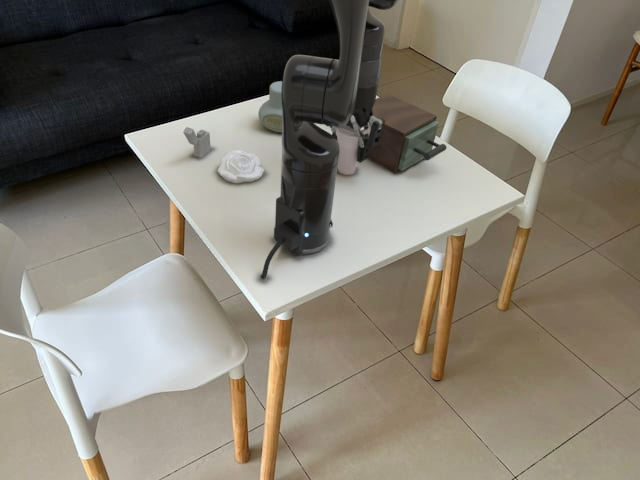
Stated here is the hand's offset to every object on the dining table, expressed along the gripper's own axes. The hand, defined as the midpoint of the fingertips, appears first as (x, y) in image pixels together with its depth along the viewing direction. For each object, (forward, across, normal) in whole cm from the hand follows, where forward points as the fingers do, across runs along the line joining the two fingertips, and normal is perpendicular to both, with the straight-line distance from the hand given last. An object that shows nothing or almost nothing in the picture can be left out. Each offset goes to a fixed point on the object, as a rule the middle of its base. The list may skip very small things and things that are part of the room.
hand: (348, 153), depth 112 cm
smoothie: (+4, 0, 0) cm, 4 cm away
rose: (+4, +14, +18) cm, 23 cm away
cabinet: (+4, -1, -13) cm, 14 cm away
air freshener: (+4, +23, -2) cm, 23 cm away
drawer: (+3, -5, -13) cm, 14 cm away
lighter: (+4, +25, +21) cm, 33 cm away
